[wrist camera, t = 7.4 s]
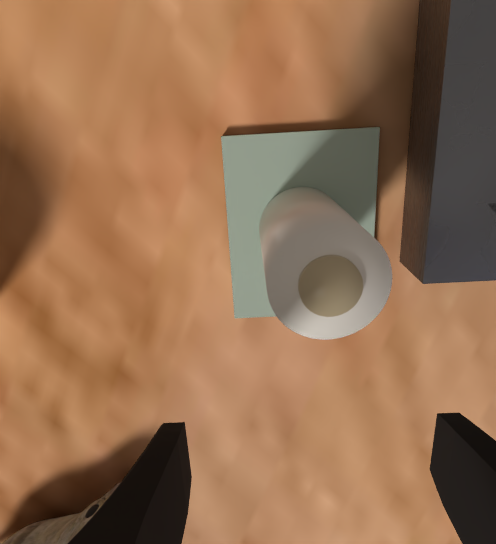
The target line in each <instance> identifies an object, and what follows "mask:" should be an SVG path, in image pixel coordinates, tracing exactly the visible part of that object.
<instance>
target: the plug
mask: <svg viewBox="0 0 496 544" xmlns="http://www.w3.org/2000/svg"><path fill="white" fill-rule="evenodd" d="M259 236H260V243H261V251H262V258H263V266H264V273H265V281H266V288H267V295H268V299H269V302H270V305H271V308H272V309H273V311H274V313H275V315H276V316H277V317H278V319H279V320H280V321H281V322H282V323H283V324H284V325H285V326H287V327H288V328H289V329H290V330H292V331H294V332H296V333H298V334H300V335H302V336H305V337H309V338H314V339H325V340H327V339H336V338H341V337H345V336H348V335H351V334H353V333H355V332H357V331H359V330H361V329H362V328H364V327H365V326H367V325H368V324H369V323H370V322H371V321H373V320H374V319H375V318H376V316H377V315H378V314H379V313H380V312H381V310H382V309H383V307H384V305H385V304H386V301H387V299H388V297H389V294H390V291H391V285H392V269H391V264H390V260H389V258H388V256H387V253H386V252H385V250H384V248H383V247H382V246H381V244H380V243H379V242H378V241H377V240H376V239H375V238H374V237H373V236H372V235H371V234H370V233H368V232H367V231H366V230H365V229H364V228H363V227H362V226H361V225H360V224H359V223H358V222H357V221H355V220H354V219H353V218H352V217H351V216H350V215H349V214H348V213H347V212H346V211H345V210H344V209H342V208H341V207H340V206H339V205H338V204H337V203H336V202H335V201H334V200H333V199H332V198H330V197H329V196H328V195H327V194H325V193H324V192H322V191H320V190H318V189H315V188H310V187H295V188H291V189H288V190H285V191H283V192H281V193H279V194H278V195H277V196H275V197H274V198H273V199H272V200H271V201H270V202H269V203H268V204H267V206H266V207H265V209H264V211H263V213H262V216H261V219H260V223H259Z"/></svg>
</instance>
